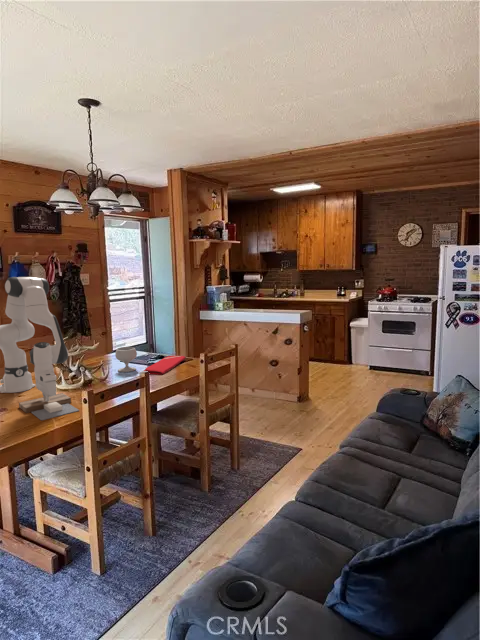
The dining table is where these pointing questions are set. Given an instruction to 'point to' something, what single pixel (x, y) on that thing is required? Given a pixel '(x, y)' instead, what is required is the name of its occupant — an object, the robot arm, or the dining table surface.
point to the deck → (43, 402)
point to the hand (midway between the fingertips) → (46, 400)
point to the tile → (53, 407)
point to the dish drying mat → (164, 365)
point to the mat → (44, 414)
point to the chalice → (126, 357)
